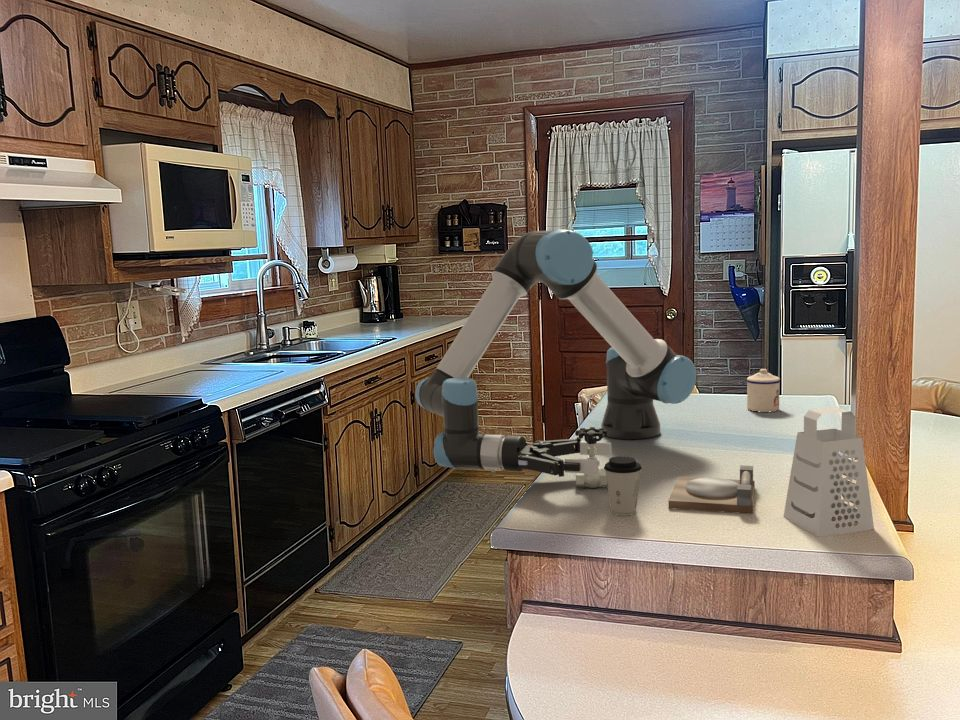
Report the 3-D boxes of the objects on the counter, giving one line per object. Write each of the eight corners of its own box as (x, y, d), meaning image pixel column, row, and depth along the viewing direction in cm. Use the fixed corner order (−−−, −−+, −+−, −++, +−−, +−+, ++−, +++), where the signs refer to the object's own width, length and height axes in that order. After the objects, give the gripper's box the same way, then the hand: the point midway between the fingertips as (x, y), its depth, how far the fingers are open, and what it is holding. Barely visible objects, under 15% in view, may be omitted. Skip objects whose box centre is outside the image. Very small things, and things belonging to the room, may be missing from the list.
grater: (874, 529, 140) (877, 414, 137) (818, 536, 138) (820, 419, 135) (835, 510, 150) (837, 402, 147) (783, 516, 148) (784, 407, 145)
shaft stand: (677, 483, 170) (677, 462, 170) (754, 487, 165) (754, 466, 164) (668, 508, 155) (668, 485, 155) (752, 513, 150) (752, 489, 150)
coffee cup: (650, 512, 153) (649, 460, 152) (622, 520, 150) (621, 467, 148) (624, 503, 159) (623, 453, 158) (597, 511, 155) (595, 459, 154)
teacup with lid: (781, 413, 230) (782, 371, 228) (747, 412, 232) (747, 372, 230) (777, 404, 241) (777, 365, 240) (744, 404, 244) (744, 365, 242)
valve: (608, 492, 166) (606, 434, 164) (575, 492, 168) (573, 434, 166) (609, 483, 173) (608, 427, 171) (578, 482, 174) (576, 426, 172)
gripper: (522, 454, 188) (615, 459, 180) (486, 487, 164) (592, 494, 157) (521, 422, 186) (615, 425, 179) (485, 450, 163) (591, 455, 156)
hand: (604, 457), depth 168 cm, fingers open, 13 cm apart
